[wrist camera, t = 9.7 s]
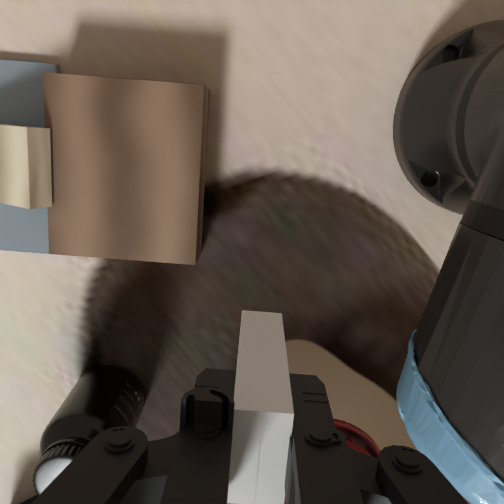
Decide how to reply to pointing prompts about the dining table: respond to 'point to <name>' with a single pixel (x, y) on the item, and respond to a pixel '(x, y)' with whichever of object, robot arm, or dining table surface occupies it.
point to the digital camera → (30, 500)
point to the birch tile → (25, 166)
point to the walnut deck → (126, 167)
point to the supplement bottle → (87, 418)
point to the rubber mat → (29, 114)
